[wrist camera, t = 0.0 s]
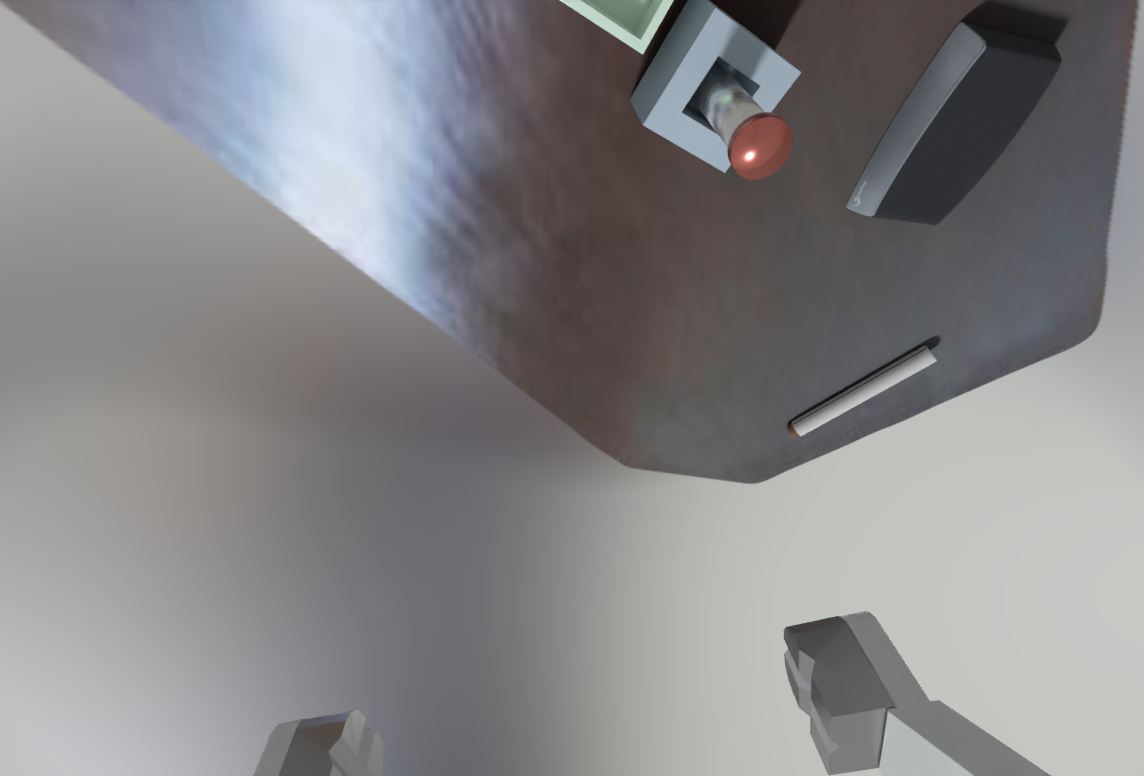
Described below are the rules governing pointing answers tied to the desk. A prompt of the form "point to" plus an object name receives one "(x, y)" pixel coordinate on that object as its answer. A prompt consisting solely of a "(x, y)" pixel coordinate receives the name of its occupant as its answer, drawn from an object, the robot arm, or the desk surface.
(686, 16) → the hitch block
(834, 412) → the tube
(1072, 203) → the desk surface
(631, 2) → the tray
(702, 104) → the pin
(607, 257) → the desk surface
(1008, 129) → the external hard drive
